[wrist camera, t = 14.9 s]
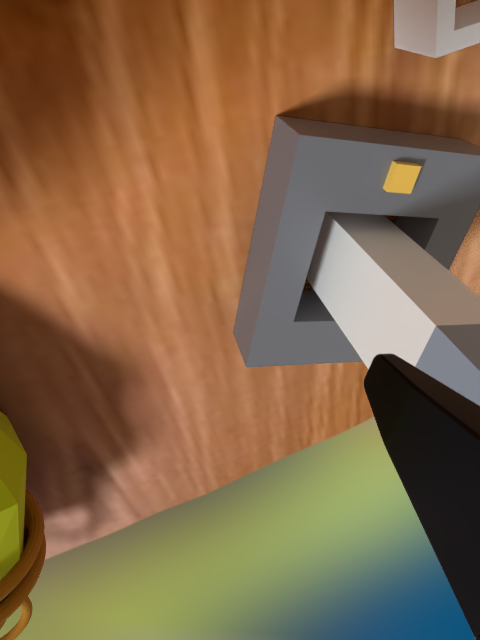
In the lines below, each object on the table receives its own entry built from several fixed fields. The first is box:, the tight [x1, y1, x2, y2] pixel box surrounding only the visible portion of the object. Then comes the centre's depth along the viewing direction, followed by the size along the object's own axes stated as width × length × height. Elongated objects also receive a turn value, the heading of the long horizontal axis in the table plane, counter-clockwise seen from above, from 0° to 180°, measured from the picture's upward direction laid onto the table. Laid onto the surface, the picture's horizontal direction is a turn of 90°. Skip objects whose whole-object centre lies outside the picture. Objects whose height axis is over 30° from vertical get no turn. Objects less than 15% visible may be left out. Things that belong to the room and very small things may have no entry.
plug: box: [306, 212, 480, 406], centre depth 19 cm, size 3×4×13 cm
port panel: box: [233, 116, 480, 367], centre depth 23 cm, size 10×12×3 cm
